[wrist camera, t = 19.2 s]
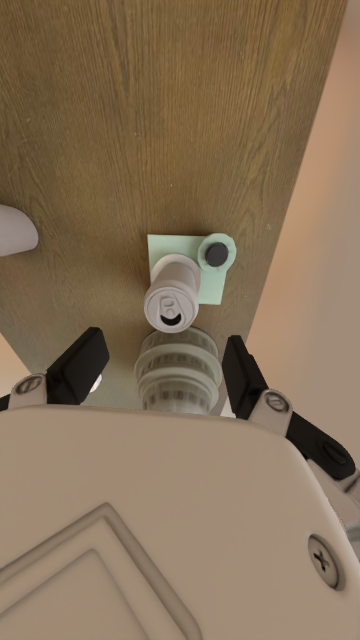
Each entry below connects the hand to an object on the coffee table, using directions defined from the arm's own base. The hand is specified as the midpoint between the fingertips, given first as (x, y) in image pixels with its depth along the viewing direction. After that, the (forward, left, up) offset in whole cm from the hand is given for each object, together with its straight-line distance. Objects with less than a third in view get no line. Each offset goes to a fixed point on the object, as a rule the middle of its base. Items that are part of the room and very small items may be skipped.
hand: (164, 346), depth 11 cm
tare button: (-6, -4, -18) cm, 20 cm away
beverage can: (0, 0, -18) cm, 18 cm away
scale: (-2, -1, -21) cm, 21 cm away
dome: (-1, +21, -21) cm, 30 cm away
